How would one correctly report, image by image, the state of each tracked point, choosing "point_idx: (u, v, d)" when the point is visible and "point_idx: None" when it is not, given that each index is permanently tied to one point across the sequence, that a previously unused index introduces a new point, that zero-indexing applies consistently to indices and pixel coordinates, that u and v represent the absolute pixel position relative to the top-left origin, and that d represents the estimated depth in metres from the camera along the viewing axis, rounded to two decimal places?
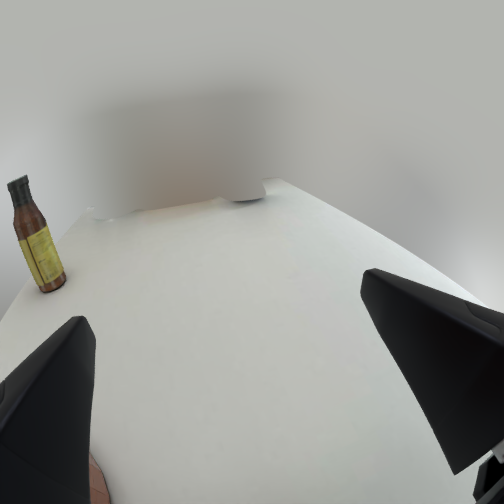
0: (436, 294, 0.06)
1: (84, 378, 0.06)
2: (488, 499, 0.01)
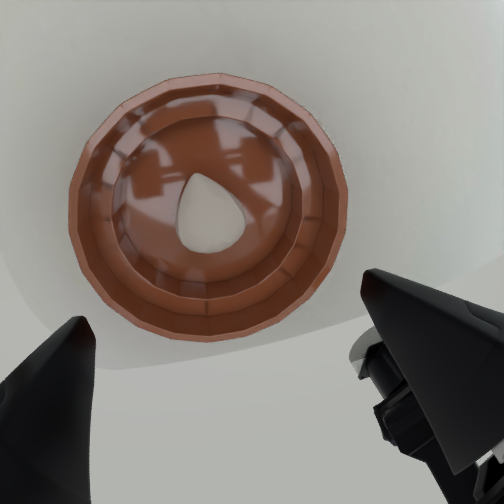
0: (436, 294, 0.06)
1: (84, 378, 0.06)
2: (488, 499, 0.01)
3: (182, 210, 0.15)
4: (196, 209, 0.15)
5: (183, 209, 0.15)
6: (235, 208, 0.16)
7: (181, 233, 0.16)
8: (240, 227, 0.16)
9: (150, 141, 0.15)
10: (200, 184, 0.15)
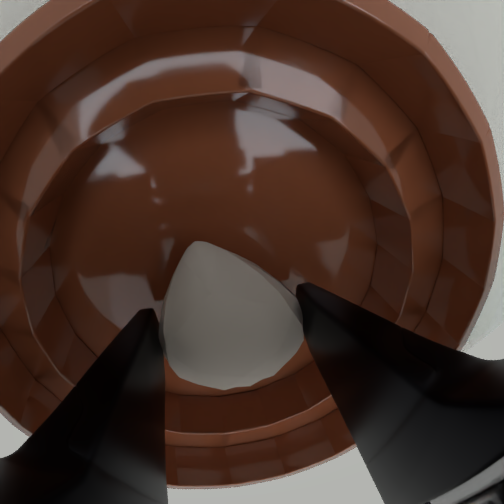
0: (367, 318, 0.06)
1: (159, 374, 0.06)
2: None
3: (171, 326, 0.07)
4: (203, 329, 0.06)
5: (173, 324, 0.07)
6: (288, 318, 0.07)
7: (174, 365, 0.07)
8: (295, 348, 0.08)
9: (93, 159, 0.06)
10: (210, 271, 0.06)
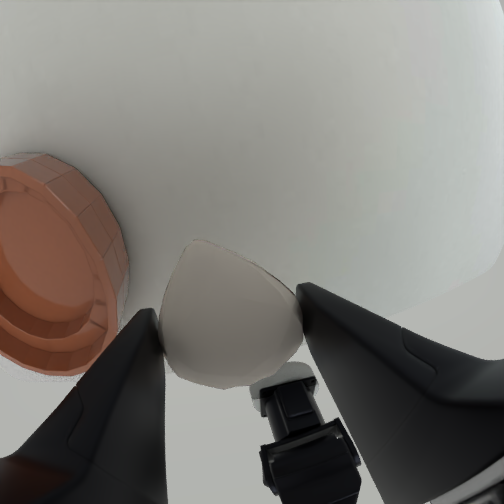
0: (367, 318, 0.06)
1: (159, 375, 0.06)
2: None
3: (170, 325, 0.07)
4: (202, 327, 0.06)
5: (172, 323, 0.07)
6: (287, 318, 0.07)
7: (173, 364, 0.07)
8: (294, 348, 0.08)
9: None
10: (209, 269, 0.06)
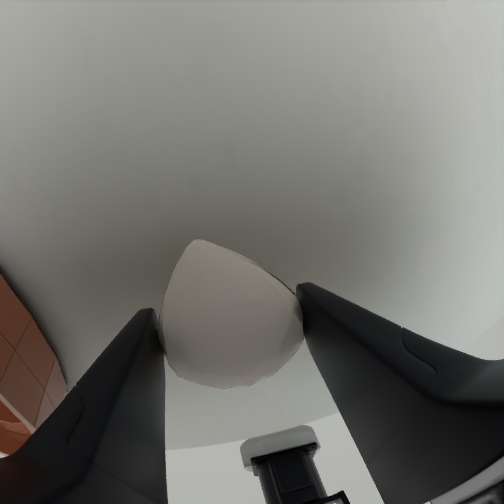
0: (367, 318, 0.06)
1: (159, 374, 0.06)
2: None
3: (170, 325, 0.07)
4: (203, 327, 0.06)
5: (173, 323, 0.07)
6: (288, 317, 0.07)
7: (173, 364, 0.07)
8: (294, 347, 0.08)
9: None
10: (210, 269, 0.06)
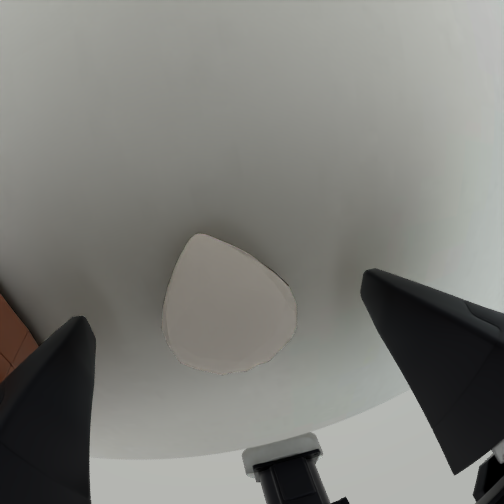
0: (436, 294, 0.06)
1: (84, 378, 0.06)
2: (488, 499, 0.01)
3: (173, 312, 0.07)
4: (203, 314, 0.07)
5: (175, 310, 0.07)
6: (281, 306, 0.08)
7: (175, 350, 0.08)
8: (288, 335, 0.08)
9: None
10: (209, 260, 0.07)
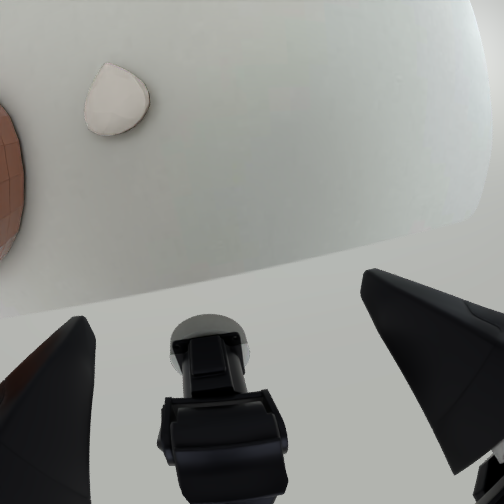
0: (436, 294, 0.06)
1: (84, 378, 0.06)
2: (488, 499, 0.01)
3: (89, 94, 0.12)
4: (99, 89, 0.12)
5: (90, 92, 0.12)
6: (135, 85, 0.12)
7: (86, 114, 0.12)
8: (140, 104, 0.13)
9: None
10: (107, 69, 0.12)
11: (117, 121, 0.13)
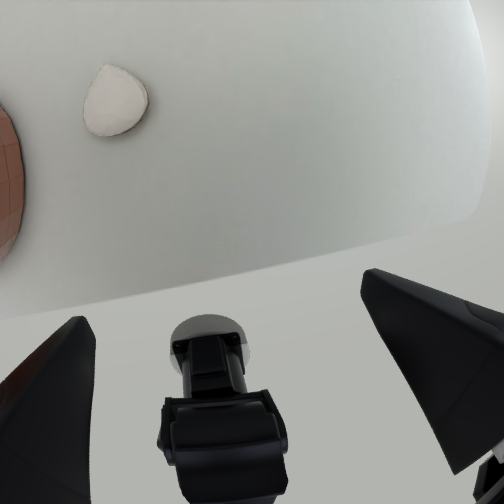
0: (436, 294, 0.06)
1: (84, 378, 0.06)
2: (488, 499, 0.01)
3: (88, 95, 0.12)
4: (98, 90, 0.12)
5: (89, 93, 0.12)
6: (134, 86, 0.12)
7: (85, 115, 0.12)
8: (139, 104, 0.13)
9: None
10: (106, 70, 0.12)
11: (116, 122, 0.13)
